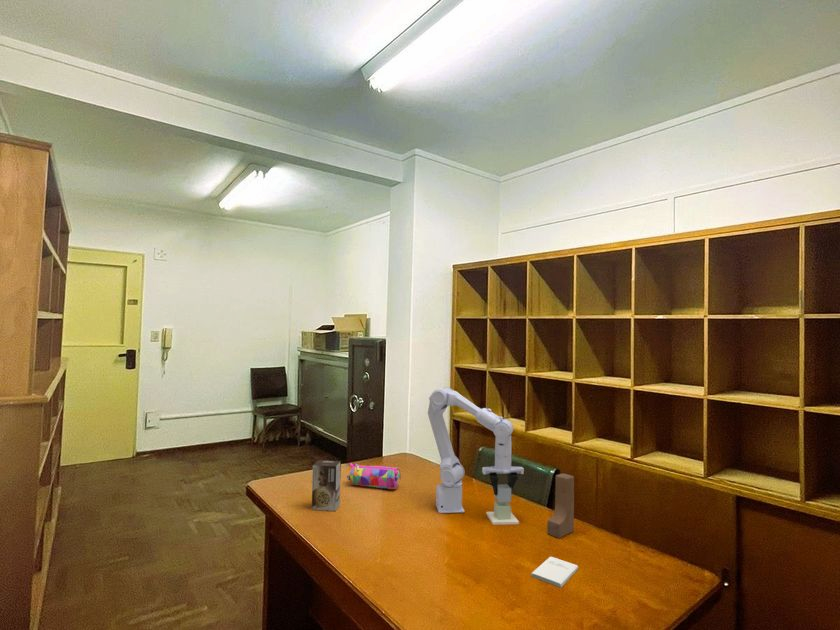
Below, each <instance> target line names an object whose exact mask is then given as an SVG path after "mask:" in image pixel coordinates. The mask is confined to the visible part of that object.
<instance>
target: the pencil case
mask: <svg viewBox="0 0 840 630" xmlns="http://www.w3.org/2000/svg"><path fill="white" fill-rule="evenodd" d="M348 465H349V466H350V467H351V470H350V473H349V475H346V477H347V481H349V483H350V485H351V486H358V485H361V487H365V486H369V488H375V487H376V489H383V488H384V489H383V490H397V489H398V488H399V484H400V482H401V475H402V474H401V471H400V468H399V467H393V466H383V465H360V464H358V463H354V464H353V463H352V462H350V463H349V464H348ZM385 488H386V489H385Z"/></svg>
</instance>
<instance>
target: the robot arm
mask: <svg viewBox="0 0 840 630" xmlns="http://www.w3.org/2000/svg"><path fill="white" fill-rule="evenodd" d="M428 401H429V403H428V410H427V415H428V419H429V422H430V425H431V426H430V427H431V430H432V434H433V437H434V440H435V444H436V446H437V450H438V454H439V458H440V464H439V465H440V466H439V470H440V474H439V475H440V478H439V479H440V481H441V483H440V484H436V486H435V487H436V489H435V507H436V510H437V511H438V513H440V514H446V513H447V514H448V513H449V514H451V513H453V514H454V513H465V509H464V507H463V481H462V479H463V478H464V476H465V474H466V473H465V468H464V467H463V465H462V464H461V462H460V459H459V458H458V457H457V456H456V454H455V452H454V449H453V445H452V442H451V439H450V434H449V431H448V428H447V425H446V422H445V421H446V420H445V418H444V413H445V411H446V409H447V407H449V406H453V407H454V406H457V407H458V408H460V409H463V410H464V411H466V412H467V413H469V414H470V415H472V416H474V417H475V419H476V422H478V423H479V424H480V425H481V426H484V427H485V428H486V429H487V430H490V431H491V432H493V435H494V436H495V443H494V465H492V466H491V465H490V466H483V467H482V468H481V472H482V474H483V475H488V478H489V480H490V482H491V486H492V489H493V495H494V496H495V495H496V496H497V493H498V489H497V486H498V485H499V476H498V474H499V475H500V474H501V475H502V474H505V475H507V485H508V486H509V487H510V488H511V496H512V495H513V491H514V487H515V485H516V483H517V481H518V479H519V475H518V474H521V475H524V474H525V473H524V471H525V470H524V469H525V468H524V467H523V466H512V452H513V451H512V447H513V446H512V433H513V432H514V425H513V423H512V422H511V421H510V420H509V419H506V418H504V417H503V416H501V415H500V416H499V415H497V414H496V413H494V412H493V411H492V409H491V408H489V407H488V408H487V407H483V408H481V407H478V406H477V405H476V404H474V403H473V402H472V401H470V400H469V399H467V398H466V397H465V396H463V395H461V394H460V393H459V392H458V391H456V390H453V389H452V388H450V387H448V386H447V387H443V388H440V389H435V390H434V391H433V392H432V393H431V394H430V395H429V397H428Z"/></svg>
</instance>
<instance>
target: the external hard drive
mask: <svg viewBox="0 0 840 630" xmlns="http://www.w3.org/2000/svg"><path fill="white" fill-rule="evenodd" d="M578 570H579V566H578V565H577V564H574V563H572V562H568V561H566V560H562V559H560V558H557V557H553V556H549V557H548V558H546V560H545V561H543V562H542V563H541V564H540V565H539V566H538V567H537V568H535V569H534V570H533V571H532V572H531V574H530V577H532V578H534V579H537V580H540V581H542V582H544V583H546V584H547V583H548V584H550V585H551V586H552V585H553V586H556V587H558V588H562V587H563V586H564V585H565V584H566V583H567V582H568V581H569V580H570V578H571V577H572V576H573V575H574V574H575V573H576V572H577V571H578Z"/></svg>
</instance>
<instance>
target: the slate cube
mask: <svg viewBox="0 0 840 630" xmlns="http://www.w3.org/2000/svg"><path fill="white" fill-rule="evenodd" d="M497 489H498V493H497V496H496V495H495V494H494V499H495V500H496V502H508V503H511V502H512V495H511V488H510V487H509V486H508V483H505V484H504V483H503V484H499V483H498V486H497Z"/></svg>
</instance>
